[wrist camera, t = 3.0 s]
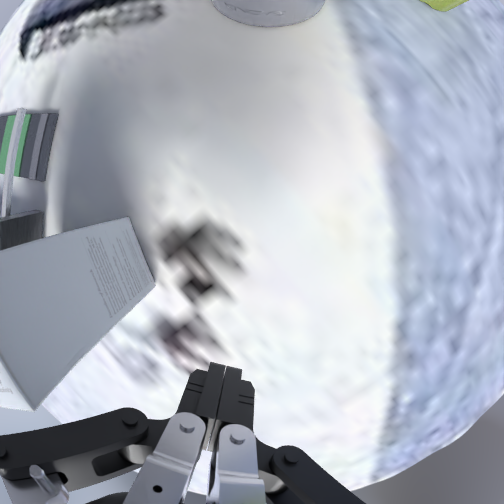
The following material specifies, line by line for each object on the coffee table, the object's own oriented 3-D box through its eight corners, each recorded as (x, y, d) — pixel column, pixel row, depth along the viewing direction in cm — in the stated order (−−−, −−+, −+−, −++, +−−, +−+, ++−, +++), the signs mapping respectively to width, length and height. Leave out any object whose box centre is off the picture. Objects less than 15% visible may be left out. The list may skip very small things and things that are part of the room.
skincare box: (87, 308, 21) (-25, 408, 7) (60, 245, 20) (-76, 310, 5) (162, 283, 20) (38, 425, 6) (132, 208, 19) (-49, 264, 4)
